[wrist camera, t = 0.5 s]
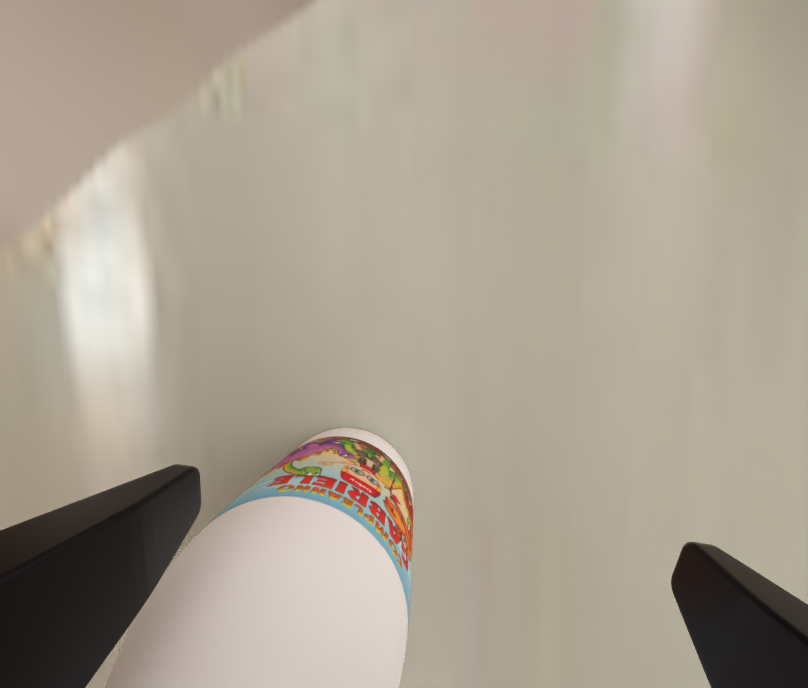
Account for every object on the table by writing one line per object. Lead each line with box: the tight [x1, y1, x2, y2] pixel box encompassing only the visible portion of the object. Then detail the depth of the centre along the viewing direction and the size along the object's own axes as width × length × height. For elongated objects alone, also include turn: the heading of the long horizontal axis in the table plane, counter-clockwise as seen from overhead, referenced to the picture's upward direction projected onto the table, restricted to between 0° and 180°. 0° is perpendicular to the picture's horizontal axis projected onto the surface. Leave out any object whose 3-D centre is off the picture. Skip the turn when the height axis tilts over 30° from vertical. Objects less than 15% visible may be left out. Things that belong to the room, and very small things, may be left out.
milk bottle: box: [105, 428, 413, 688], centre depth 13 cm, size 8×8×20 cm
